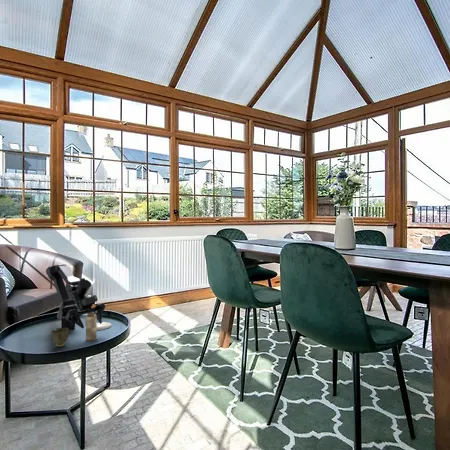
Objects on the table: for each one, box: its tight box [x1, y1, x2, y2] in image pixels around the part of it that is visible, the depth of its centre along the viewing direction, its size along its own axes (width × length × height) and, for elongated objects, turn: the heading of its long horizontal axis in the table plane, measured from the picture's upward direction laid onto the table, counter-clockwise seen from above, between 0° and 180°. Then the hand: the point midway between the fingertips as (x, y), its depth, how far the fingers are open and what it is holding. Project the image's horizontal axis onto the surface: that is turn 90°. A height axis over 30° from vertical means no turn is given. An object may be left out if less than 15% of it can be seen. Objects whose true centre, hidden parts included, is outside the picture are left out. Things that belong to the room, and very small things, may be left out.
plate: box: [96, 321, 112, 331], centre depth 185 cm, size 11×11×1 cm
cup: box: [51, 326, 70, 348], centre depth 156 cm, size 8×7×8 cm
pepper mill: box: [85, 312, 98, 342], centre depth 165 cm, size 5×5×13 cm
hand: (92, 325), depth 165 cm, fingers open, 9 cm apart
